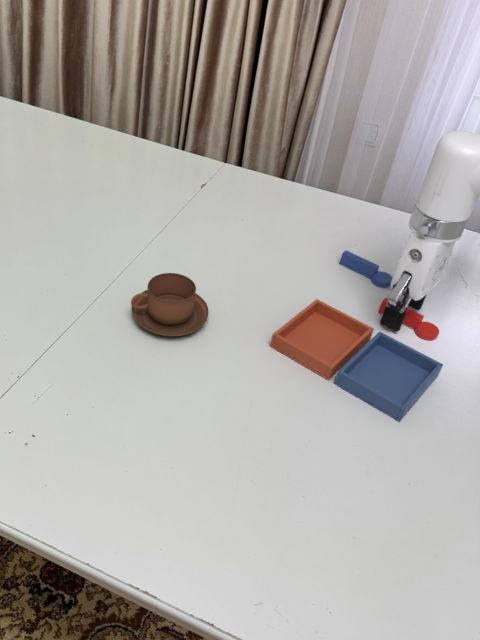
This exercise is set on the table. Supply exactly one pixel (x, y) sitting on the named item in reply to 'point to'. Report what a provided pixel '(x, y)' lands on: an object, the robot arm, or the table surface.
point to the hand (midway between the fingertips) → (400, 315)
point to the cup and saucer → (170, 306)
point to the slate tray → (388, 375)
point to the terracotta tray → (321, 338)
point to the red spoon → (416, 323)
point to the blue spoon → (366, 269)
